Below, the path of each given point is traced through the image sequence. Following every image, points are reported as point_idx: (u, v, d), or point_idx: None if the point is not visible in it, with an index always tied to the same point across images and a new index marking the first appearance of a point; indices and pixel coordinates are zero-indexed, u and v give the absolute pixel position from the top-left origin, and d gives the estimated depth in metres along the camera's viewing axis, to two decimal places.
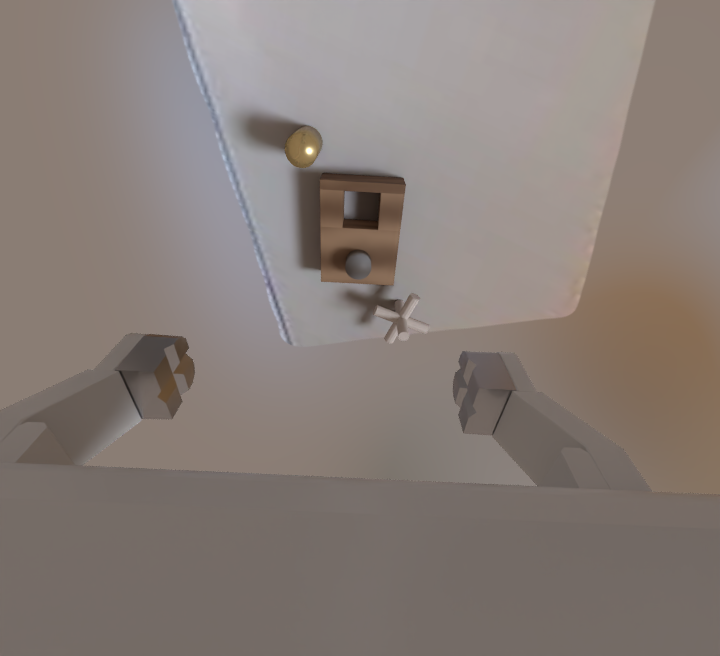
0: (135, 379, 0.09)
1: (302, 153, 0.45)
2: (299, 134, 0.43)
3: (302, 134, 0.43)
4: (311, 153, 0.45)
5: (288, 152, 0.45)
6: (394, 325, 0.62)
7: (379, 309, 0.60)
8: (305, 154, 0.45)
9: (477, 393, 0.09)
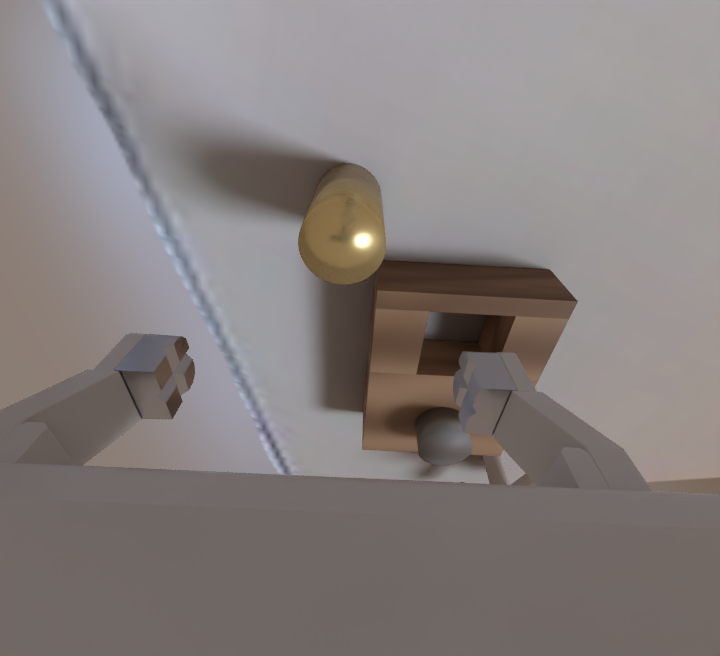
0: (135, 379, 0.09)
1: (347, 252, 0.16)
2: (341, 206, 0.15)
3: (349, 206, 0.15)
4: (371, 252, 0.16)
5: (308, 249, 0.16)
6: None
7: None
8: (353, 254, 0.16)
9: (477, 393, 0.09)
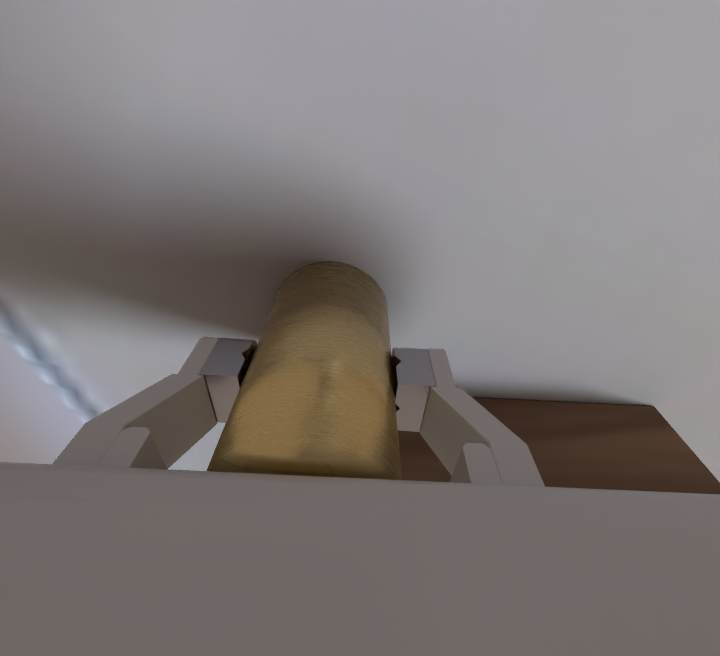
0: (217, 383, 0.09)
1: None
2: (294, 448, 0.06)
3: (316, 448, 0.06)
4: None
5: None
6: None
7: None
8: None
9: (397, 389, 0.09)
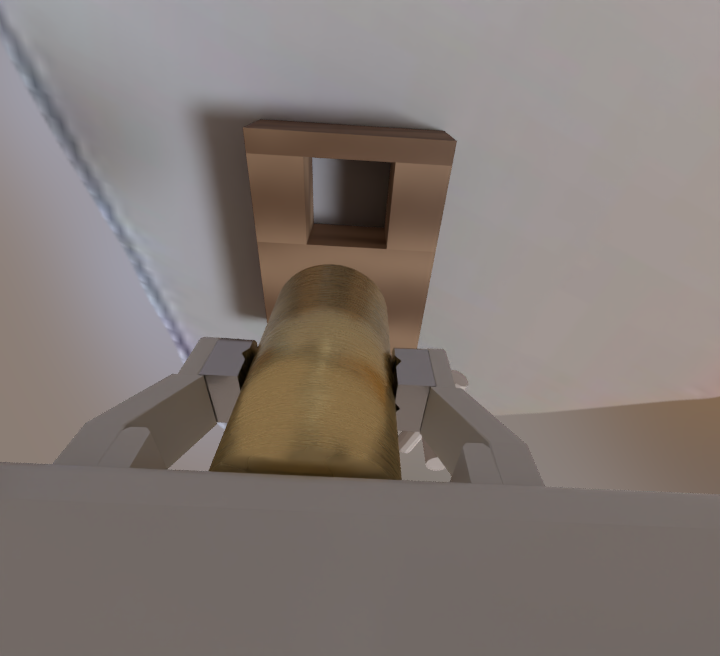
0: (217, 383, 0.09)
1: None
2: (295, 451, 0.06)
3: (316, 451, 0.06)
4: None
5: None
6: None
7: None
8: None
9: (397, 389, 0.09)
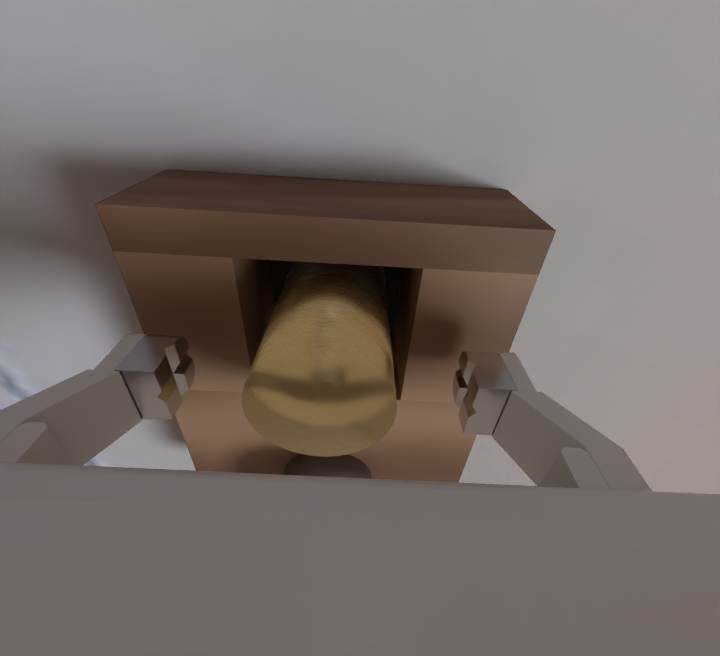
0: (135, 379, 0.09)
1: (329, 418, 0.09)
2: (314, 356, 0.08)
3: (331, 356, 0.08)
4: (370, 419, 0.09)
5: (260, 414, 0.09)
6: None
7: None
8: (339, 420, 0.09)
9: (477, 393, 0.09)
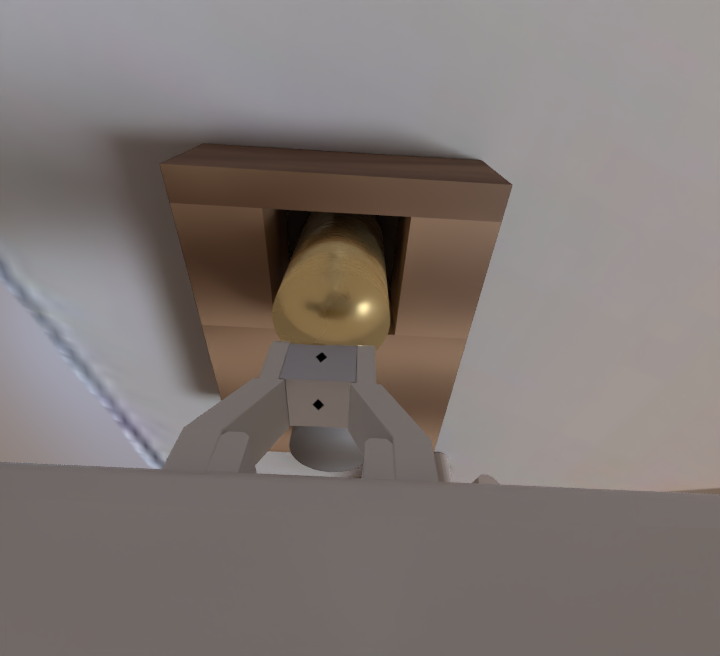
0: (297, 387, 0.09)
1: (338, 328, 0.12)
2: (328, 273, 0.11)
3: (340, 273, 0.11)
4: (370, 329, 0.12)
5: (285, 325, 0.12)
6: None
7: None
8: (345, 331, 0.12)
9: (318, 385, 0.09)
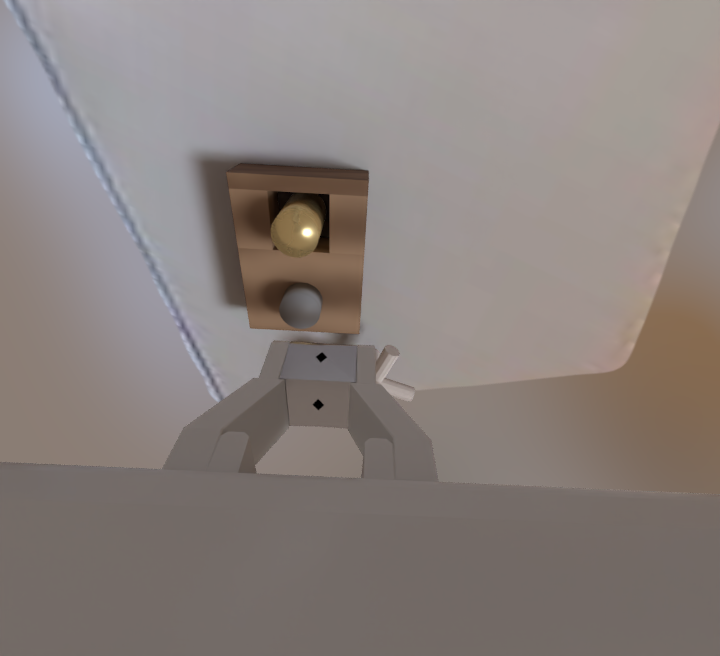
0: (297, 387, 0.09)
1: (297, 238, 0.30)
2: (292, 213, 0.29)
3: (297, 213, 0.29)
4: (310, 238, 0.30)
5: (276, 237, 0.30)
6: None
7: None
8: (301, 240, 0.30)
9: (318, 385, 0.09)
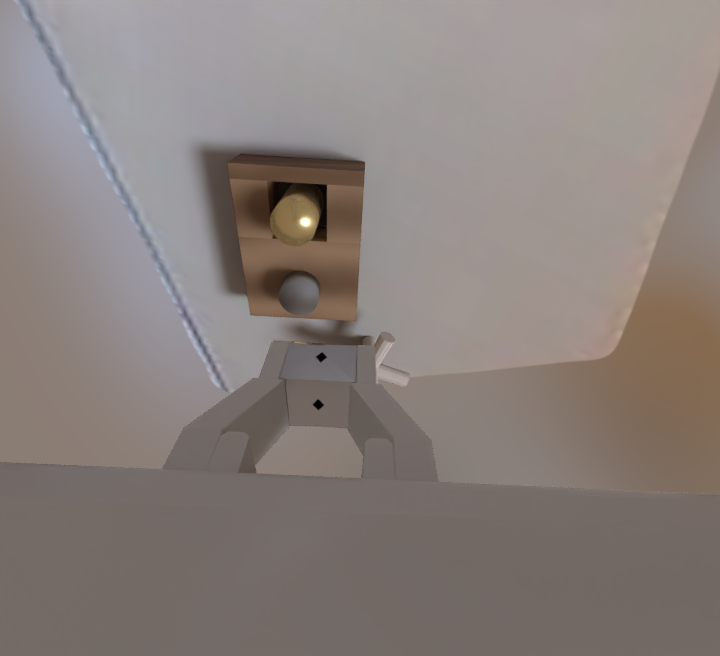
0: (296, 387, 0.09)
1: (296, 228, 0.31)
2: (290, 203, 0.30)
3: (295, 203, 0.30)
4: (308, 228, 0.31)
5: (275, 226, 0.31)
6: None
7: None
8: (299, 229, 0.31)
9: (318, 385, 0.09)
